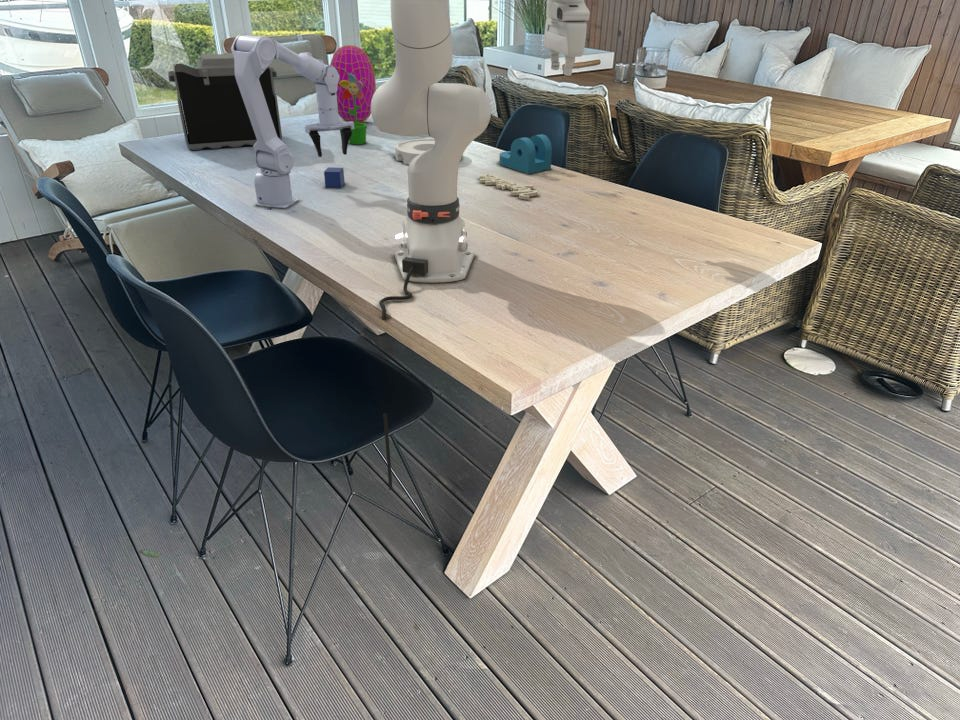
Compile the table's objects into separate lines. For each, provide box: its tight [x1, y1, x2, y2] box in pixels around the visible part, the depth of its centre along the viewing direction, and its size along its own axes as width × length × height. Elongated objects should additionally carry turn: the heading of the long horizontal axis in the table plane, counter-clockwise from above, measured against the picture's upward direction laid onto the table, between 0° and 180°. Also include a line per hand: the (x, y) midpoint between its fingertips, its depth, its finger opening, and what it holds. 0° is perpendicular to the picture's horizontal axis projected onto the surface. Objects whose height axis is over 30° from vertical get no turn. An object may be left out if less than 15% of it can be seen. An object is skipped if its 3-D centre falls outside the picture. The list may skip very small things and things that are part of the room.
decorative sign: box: [479, 173, 539, 201], centre depth 214 cm, size 26×1×10 cm
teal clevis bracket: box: [498, 133, 553, 175], centre depth 233 cm, size 18×10×10 cm, turn 39°
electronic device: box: [167, 52, 283, 151], centre depth 254 cm, size 37×22×30 cm, turn 111°
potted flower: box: [339, 73, 368, 145], centre depth 255 cm, size 9×8×25 cm
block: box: [323, 166, 346, 189], centre depth 212 cm, size 5×5×5 cm
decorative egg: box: [329, 44, 377, 123], centre depth 286 cm, size 19×19×30 cm
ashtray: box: [394, 138, 435, 166], centre depth 243 cm, size 23×23×4 cm
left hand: (332, 155), depth 209 cm, fingers open, 7 cm apart
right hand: (561, 72), depth 170 cm, fingers open, 8 cm apart
